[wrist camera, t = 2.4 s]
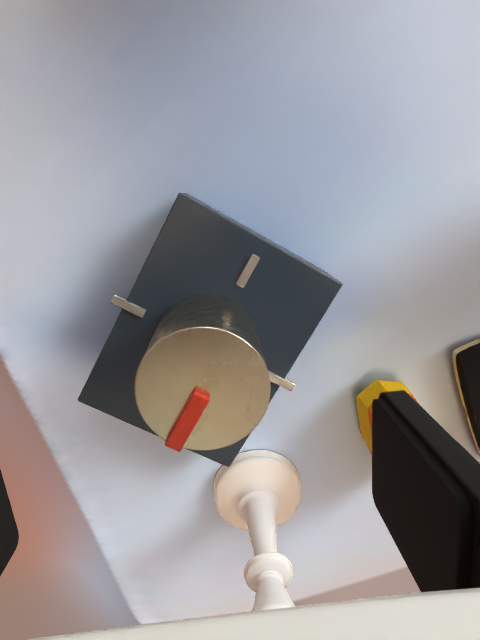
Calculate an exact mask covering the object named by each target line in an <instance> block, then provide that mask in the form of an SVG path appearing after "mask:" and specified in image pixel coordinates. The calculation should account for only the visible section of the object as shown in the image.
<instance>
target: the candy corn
mask: <svg viewBox="0 0 480 640" xmlns="http://www.w3.org/2000/svg"><path fill="white" fill-rule="evenodd" d="M399 390H405V391H406V392H407V393H408V394H409V395H410V396H411V397H412V398H413V399H414V400H415V401H416V399H415V398H414V397H413V395H412V394H411V393H410V391H409V390H408V389H407V388H406V386H405V385H404V384H403V383H402V382H396V381H380V380H375V381H374V382H372V383H371V384H370V385H369V386H368V387H367V388H365V389H364V390H363V391H362V392H361V393H360V394H358V395H357V396H356V403H357V410H358V417H359V424H360V431H361V434H362V436H363V438H364V440H365V442H366V444H367V446H368V448H369V450H370V452H371V454H372V401H373V399H378V398H379V394H380V393H381V392H390V391H399ZM416 402H417V401H416ZM417 403H418V402H417ZM418 404H419V403H418Z"/></svg>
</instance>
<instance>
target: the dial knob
mask: <svg viewBox="0 0 480 640" xmlns="http://www.w3.org/2000/svg"><path fill="white" fill-rule="evenodd" d="M270 391H271V386H270V378H269V373H268V369H267V366H266V362H265V359H264V355H263V352H262V348H261V345H260V341H259V338H258V334H257V331H256V328H255V325H254V323H253V321H252V319H251V318H250V316H249V315H248V314H247V312H246V311H245V310H244V309H243V308H242V307H240V306H239V305H238V304H236V303H235V302H233V301H231V300H229V299H227V298H224V297H221V296H217V295H207V294H204V295H196V296H191V297H188V298H185V299H183V300H181V301H179V302H178V303H176V304H175V305H173V306H172V307H171V308H170V309H169V310H168V311H167V312H166V313H165V314H164V316H163V317H162V319H161V320H160V322H159V324H158V326H157V328H156V330H155V333H154V335H153V337H152V339H151V341H150V343H149V345H148V348H147V350H146V352H145V354H144V356H143V358H142V360H141V363H140V365H139V367H138V369H137V373H136V377H135V384H134V392H135V399H136V404H137V407H138V410H139V412H140V414H141V416H142V418H143V419H144V421H145V422H146V424H147V425H148V426H149V427H150V428H151V429H152V431H154V432H155V433H156V434H157V435H158V436H159V437H161V438H162V439H164V440H165V441H166V443H165V446H167V447H170V448H172V449H174V450H177V451H179V452H180V451H181V449H182V448H186V449H191V450H215V449H219V448H223V447H226V446H229V445H232V444H234V443H236V442H238V441H239V440H241V439H243V438H244V437H246V436H247V435H248V434H249V433H250V432H252V430H253V429H254V428H255V427H256V426H257V425H258V424H259V422H260V421H261V419H262V418H263V416H264V414H265V412H266V409H267V407H268V404H269V399H270Z"/></svg>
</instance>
